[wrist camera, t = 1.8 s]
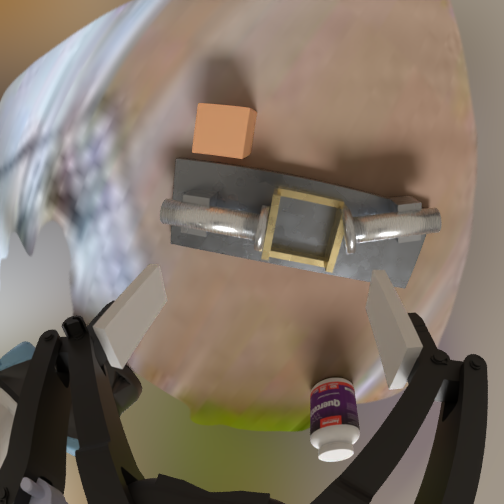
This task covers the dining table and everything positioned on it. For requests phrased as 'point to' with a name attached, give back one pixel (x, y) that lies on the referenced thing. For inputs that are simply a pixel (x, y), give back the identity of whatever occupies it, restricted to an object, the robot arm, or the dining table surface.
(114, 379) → the robot arm
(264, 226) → the shaft
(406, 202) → the shaft
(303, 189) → the board
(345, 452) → the pill bottle
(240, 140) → the block
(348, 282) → the dining table surface
